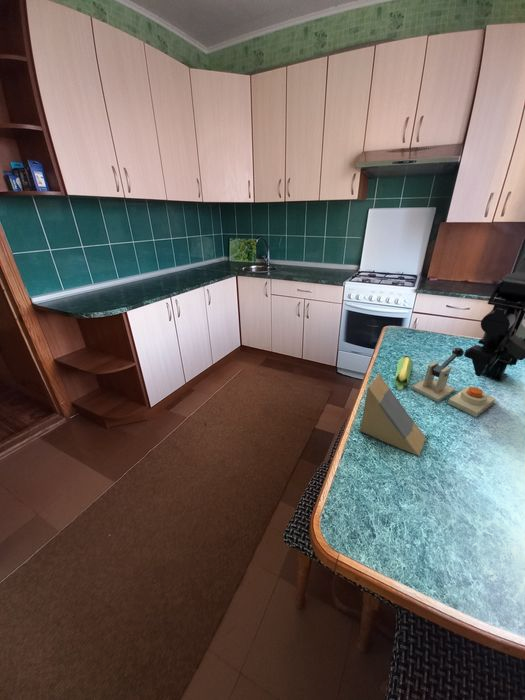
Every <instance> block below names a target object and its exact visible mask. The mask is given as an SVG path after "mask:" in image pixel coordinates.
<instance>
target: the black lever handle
mask: <svg viewBox="0 0 525 700" xmlns="http://www.w3.org/2000/svg"><path fill="white" fill-rule="evenodd" d="M451 353H452V354H451V355H450V356H449V357H448V358H447V359H446V360H445V361H444V362H443V363H442V364H440V365H439V364H438V365H437V366H436V367H435V368H434V369H433V372H432V375H434V377H437V378H439V375H440V372H441V370H443V369H445V368H446V367H449V365H450V364H451V363H452V362H453V361H454V360H455V359H456V358H460V357H462V356H464V354H465V351H464V349H463V348H461V347H455V348H453V349H452V352H451Z"/></svg>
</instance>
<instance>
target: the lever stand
mask: <svg viewBox="0 0 525 700" xmlns="http://www.w3.org/2000/svg"><path fill="white" fill-rule="evenodd" d="M437 365H439V361H434V362H432V363H430V364H428V365H427V369H426V372H425V376H424V379H422V380H420V381H418V382H417V383H414V384H413V385H412V386H411V390H413V391H415V392H417V393H419V394H420V395H423V396H425V397H426V398H428V399H431V400H432V401H435V402H437V403H439V402H441V401H442V400H444V399H445V398H447V397H448V396H450V395H451V394H452V393H454V392H455V390H456V388H455V387H453V386H450V385H448V384H447V382H448V379H449V376H450V373H451V369H452V367H450V366H447V367H445V368H444V369H443V370H441V372H440V375H439V377H437V378H438V379H435V376H434V375H432V372H433V369H434V368H435V367H436V366H437Z"/></svg>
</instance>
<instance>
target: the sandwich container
mask: <svg viewBox="0 0 525 700" xmlns="http://www.w3.org/2000/svg"><path fill="white" fill-rule="evenodd" d="M365 394H366V395H365V401H364V406H363V411H362V418H361V423H360V429H359V431H360V432H361V433H364V434H366V435H369V436H370V437H372V438H375V439H377V440H380V441H381V442H384V443H386V444H389V445H390V446H394V447H396V448H398V449H401V450H403V451H406V452H408V453H410V454H413V455H415V456H417V457H419V456H420V455H421V453H422V450H423V448H424V445H425V441H426V436H425V434H424V433H423V432H422V430H421V429H420V428H419V426H418V425H417V423H415V421H414V420H413V418H412V417H411V416H410V415H409V413H408V412H407V410H406V409H405V408H404V406H403V405H402V403H401V402H400V401H399V399H398V398H397V397H396V396H395V394H394V393H393V391H392V390H391V388H390V387H389V385H388V384H387V383H386V381H385V380H384V379H383V377H382V375H381V374H380V373H377V374H376V376H375V377H374V379H373V380H372V381H371V382H370V383H369V385H368V386H367V389H366V393H365Z"/></svg>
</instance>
